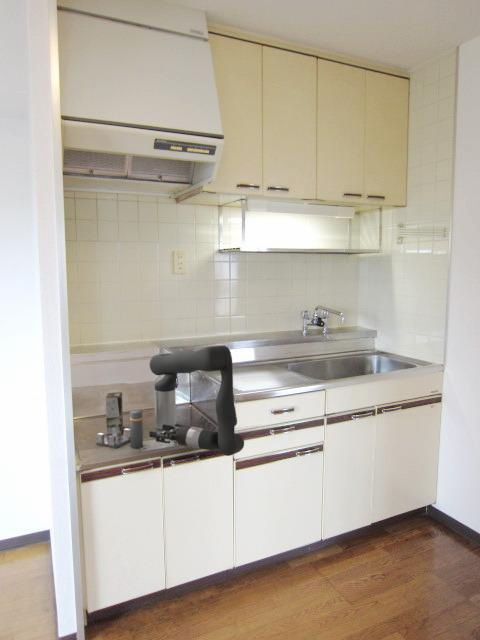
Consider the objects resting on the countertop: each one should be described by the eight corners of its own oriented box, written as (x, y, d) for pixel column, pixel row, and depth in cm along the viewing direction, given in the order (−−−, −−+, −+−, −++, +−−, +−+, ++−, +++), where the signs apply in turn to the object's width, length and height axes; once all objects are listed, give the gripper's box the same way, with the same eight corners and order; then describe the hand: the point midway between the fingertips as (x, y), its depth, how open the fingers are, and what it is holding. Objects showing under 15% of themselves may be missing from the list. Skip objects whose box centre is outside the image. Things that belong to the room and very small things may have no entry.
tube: (135, 443, 185) (135, 409, 184) (145, 445, 183) (144, 411, 182) (127, 447, 181) (127, 413, 179) (137, 449, 179) (137, 414, 177)
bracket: (113, 436, 193) (113, 425, 192) (132, 439, 189) (132, 429, 188) (95, 444, 183) (95, 433, 183) (115, 448, 179) (115, 437, 179)
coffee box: (121, 433, 196) (120, 397, 194) (106, 434, 195) (105, 397, 193) (123, 426, 205) (122, 391, 203) (108, 427, 204) (107, 392, 202)
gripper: (201, 421, 176) (166, 415, 183) (181, 433, 163) (145, 426, 170) (201, 440, 177) (166, 433, 184) (182, 453, 164) (145, 445, 171)
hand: (156, 430), depth 177 cm, fingers open, 8 cm apart
